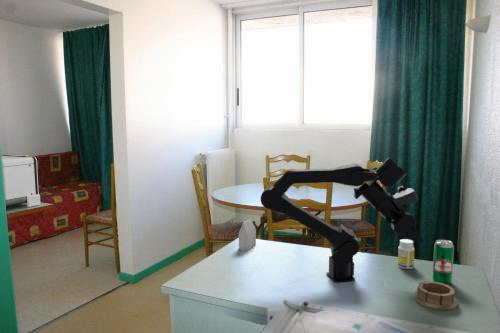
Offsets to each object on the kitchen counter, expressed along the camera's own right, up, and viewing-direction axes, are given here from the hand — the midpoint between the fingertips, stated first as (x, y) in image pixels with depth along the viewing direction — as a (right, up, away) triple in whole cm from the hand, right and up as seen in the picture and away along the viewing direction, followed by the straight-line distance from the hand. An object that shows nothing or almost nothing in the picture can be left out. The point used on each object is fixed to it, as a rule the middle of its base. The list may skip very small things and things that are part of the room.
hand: (417, 237), depth 116 cm
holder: (0, -15, -11) cm, 18 cm away
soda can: (+7, -13, +1) cm, 15 cm away
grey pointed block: (-49, -10, +32) cm, 59 cm away
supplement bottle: (+2, -12, +13) cm, 17 cm away
